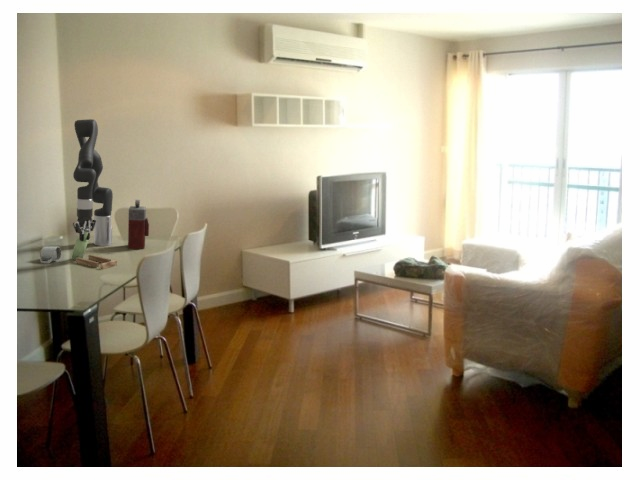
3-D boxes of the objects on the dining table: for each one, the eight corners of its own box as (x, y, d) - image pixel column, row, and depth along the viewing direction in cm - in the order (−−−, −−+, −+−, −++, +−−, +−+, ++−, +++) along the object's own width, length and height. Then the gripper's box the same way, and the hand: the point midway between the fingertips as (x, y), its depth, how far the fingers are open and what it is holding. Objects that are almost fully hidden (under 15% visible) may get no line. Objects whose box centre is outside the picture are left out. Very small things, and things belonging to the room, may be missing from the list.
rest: (90, 259, 318) (90, 254, 318) (117, 265, 311) (117, 260, 311) (75, 262, 309) (75, 258, 309) (102, 269, 302) (102, 264, 302)
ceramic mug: (46, 258, 313) (45, 243, 312) (61, 259, 313) (61, 245, 312) (36, 263, 303) (35, 248, 301) (52, 265, 303) (51, 250, 301)
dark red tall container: (148, 249, 348) (149, 201, 342) (128, 248, 346) (128, 200, 340) (149, 245, 357) (150, 198, 351) (129, 244, 354) (130, 197, 348)
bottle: (77, 253, 319) (86, 224, 313) (84, 259, 317) (94, 230, 311) (68, 255, 314) (78, 226, 308) (76, 261, 312) (85, 232, 306)
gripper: (89, 204, 315) (89, 236, 319) (68, 207, 303) (68, 241, 306) (100, 206, 312) (100, 239, 316) (79, 210, 300) (79, 243, 303)
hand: (84, 240), depth 311 cm, fingers closed on bottle, 3 cm apart
